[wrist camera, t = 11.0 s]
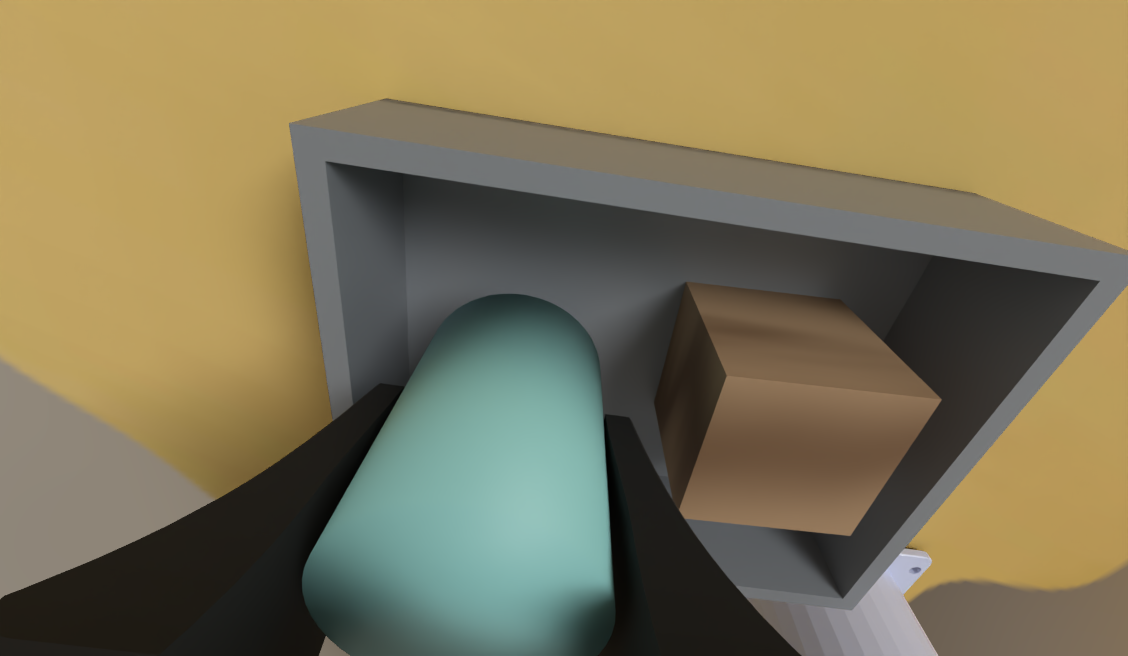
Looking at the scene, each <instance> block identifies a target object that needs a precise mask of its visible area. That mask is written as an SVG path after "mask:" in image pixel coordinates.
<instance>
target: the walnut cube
mask: <svg viewBox="0 0 1128 656" xmlns="http://www.w3.org/2000/svg"><path fill="white" fill-rule="evenodd" d="M941 400H942V399H941V398H940V397H939V396H938V395H937V394H936V393H935V392H934V391H933V390H932V389H931V388H930V387H929V386H928V385H927V384H926V383H925V382H924V381H923V380H922V379H921V378H919V377H918V376H917V375H916V374H915V373H914V372H913V371H912V370H911V369H910V368H909V367H908V366H907V365H906V364H905V363H904V362H903V361H902V360H901V359H900V358H899V357H898V356H897V355H896V354H895V353H894V352H893V351H892V350H891V349H890V348H889V347H888V346H887V345H886V344H885V343H884V342H883V341H882V340H881V339H880V338H879V337H878V336H877V335H876V334H875V333H874V332H873V331H872V330H871V329H870V328H869V327H868V326H867V325H866V324H865V323H864V322H863V321H862V320H861V319H860V318H859V317H858V316H857V315H856V314H855V313H854V312H853V311H852V310H851V309H850V308H849V307H848V306H846V305H845V304H844V303H843V302H842V301H841V300H840V299H833V298H824V297H815V296H807V295H798V294H789V293H781V292H772V291H763V290H755V289H746V288H737V287H729V286H720V285H712V284H703V283H694V282H686V284H685V288H684V292H683V296H682V299H681V303H680V307H679V311H678V314H677V318H676V322H675V326H674V329H673V333H672V337H671V341H670V344H669V348H668V352H667V356H666V359H665V363H664V367H663V370H662V374H661V378H660V382H659V385H658V389H657V393H656V397H655V400H654V405H655V411H656V416H657V421H658V426H659V431H660V437H661V442H662V447H663V452H664V457H665V462H666V468H667V473H668V478H669V483H670V488H671V493H672V499H673V501H674V503H675V504H676V506H677V507H678V509H679V511H680V512H681V514H682V515H683V517H684V518H685V519H693V520H703V521H713V522H722V523H732V524H741V525H751V526H760V527H770V528H779V529H789V530H799V531H808V532H818V533H827V534H837V535H846V536H851V534H852V533H853V531H854V530H855V528H856V527H857V525H858V524H859V522H860V521H861V519H862V518H863V516H864V515H865V513H866V512H867V510H868V509H869V507H870V506H871V504H872V503H873V501H874V500H875V498H876V497H877V495H878V494H879V493H880V491H881V490H882V488H883V487H884V485H885V484H886V482H887V481H888V479H889V478H890V476H891V475H892V473H893V472H894V470H895V469H896V467H897V466H898V464H899V463H900V461H901V460H902V458H903V457H904V455H905V454H906V452H907V451H908V449H909V448H910V446H911V445H912V443H913V442H914V441H915V439H916V438H917V436H918V435H919V433H920V432H921V430H922V429H923V427H924V426H925V424H926V423H927V421H928V420H929V418H930V417H931V415H932V414H933V412H934V411H935V409H936V408H937V406H938V405H939V403H940V402H941Z"/></svg>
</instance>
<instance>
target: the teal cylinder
mask: <svg viewBox="0 0 1128 656" xmlns="http://www.w3.org/2000/svg"><path fill="white" fill-rule="evenodd" d="M302 592H303V596H304V600H305V604H306V606H307V608H308V610H309V613H310V615H311V617H312V618H313V620H314V621H315V622H316V624H317V625H318V627H319V628H320V629H321V630H322V631H323V633H324V634H325V635H326V636H327V637H328V638H329V639H330V640H331V641H332V642H334V643H335V644H336V645H337V646H338V647H339V648H341V649H342V650H343V651H345V652H346V653H348V654H349V655H350V656H598V655H599V653H600V652H601V651H602V650H603V648H604V647H605V646H606V644H607V642H608V641H609V639H610V637H611V635H612V632H613V628H614V625H615V613H616V608H615V593H614V577H613V561H612V545H611V529H610V513H609V498H608V482H607V466H606V450H605V434H604V418H603V402H602V387H601V371H600V362H599V356H598V353H597V349H596V347H595V345H594V343H593V340H592V338H591V337H590V335H589V334H588V332H587V331H586V329H585V328H584V327H583V326H582V325H581V324H580V323H579V321H577V320H576V319H575V318H574V317H573V316H572V315H571V314H569V313H568V312H566V311H565V310H563V309H562V308H560V307H558V306H556V305H555V304H553V303H551V302H548V301H545V300H543V299H540V298H537V297H533V296H528V295H522V294H496V295H489V296H485V297H481V298H478V299H475V300H473V301H470V302H468V303H466V304H464V305H463V306H461V307H459V308H458V309H456V310H455V311H454V312H453V313H451V314H450V315H449V316H448V317H447V318H446V319H445V320H444V321H443V323H442V324H441V326H440V327H439V328H438V330H437V332H436V333H435V335H434V337H433V339H432V340H431V342H430V344H429V346H428V347H427V349H426V351H425V353H424V354H423V356H422V358H421V360H420V362H419V363H418V365H417V367H416V369H415V370H414V372H413V374H412V376H411V377H410V379H409V381H408V383H407V384H406V386H405V388H404V390H403V391H402V393H401V395H400V397H399V399H398V400H397V402H396V404H395V406H394V407H393V409H392V411H391V413H390V414H389V416H388V418H387V420H386V421H385V423H384V425H383V427H382V428H381V430H380V432H379V434H378V436H377V437H376V439H375V441H374V443H373V444H372V446H371V448H370V450H369V451H368V453H367V455H366V457H365V458H364V460H363V462H362V464H361V465H360V467H359V469H358V471H357V473H356V474H355V476H354V478H353V480H352V481H351V483H350V485H349V487H348V488H347V490H346V492H345V494H344V495H343V497H342V499H341V501H340V503H339V504H338V506H337V508H336V510H335V511H334V513H333V515H332V517H331V518H330V520H329V522H328V524H327V525H326V527H325V529H324V531H323V532H322V534H321V536H320V538H319V540H318V541H317V543H316V545H315V547H314V548H313V550H312V552H311V554H310V555H309V558H308V560H307V562H306V564H305V567H304V571H303V576H302Z"/></svg>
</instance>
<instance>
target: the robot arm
mask: <svg viewBox="0 0 1128 656" xmlns="http://www.w3.org/2000/svg"><path fill="white" fill-rule="evenodd" d="M404 388H405V386H398V385H390V384H383V383H380V384H378V385H377V386H375V387H374V388H373V389H372V390H371V391H369V392H368V393H367V394H366V395H364V396H363V397H362V398H361V399H360V400H358V401H357V402H356V403H355V404H354V405H352V406H351V407H350V408H349V409H347V410H346V411H345V412H344V413H342V414H341V415H340V416H339V417H338V418H336V419H335V420H334V421H332V422H331V423H330V424H329V425H327V426H326V427H325V428H323V429H322V430H321V431H320V432H318V433H317V434H316V435H314V436H313V437H312V438H310V439H309V440H308V441H306V442H305V443H304V444H302V445H301V446H299V447H298V448H297V449H295V450H294V451H292V452H291V453H289V454H288V455H287V456H285V457H284V458H282V459H281V460H280V461H278V462H277V463H275V464H274V465H272V466H271V467H269V468H268V469H266V470H265V471H263V472H262V473H260V474H259V475H257V476H255V477H254V478H252V479H251V480H249V481H247V482H246V483H244V484H243V485H241V486H239V487H238V488H236V489H234V490H233V491H231V492H229V493H227V494H226V495H224V496H222V497H221V498H219V499H217V500H215V501H213V502H211V503H209V504H207V505H206V506H204V507H202V508H200V509H198V510H196V511H194V512H192V513H191V514H189V515H187V516H185V517H183V518H181V519H179V520H177V521H176V522H174V523H172V524H170V525H168V526H166V527H164V528H162V529H160V530H158V531H155V532H153V533H151V534H150V535H147V536H145V537H143V538H141V539H139V540H137V541H135V542H132V543H130V544H128V545H126V546H124V547H121V548H119V549H117V550H115V551H113V552H110V553H108V554H106V555H104V556H102V557H99V558H97V559H94V560H92V561H90V562H87V563H85V564H83V565H80V566H78V567H75V568H73V569H71V570H68V571H65V572H63V573H61V574H58V575H56V576H53V577H51V578H49V579H46V580H43V581H41V582H38V583H36V584H33V585H31V586H29V587H26V588H24V589H21V590H19V591H16V592H13V593H11V594H8V595H5V596H4V597H2V598H1V599H0V656H319V653H320V650H321V648H322V645H323V642H324V639H325V636H326V635H325V634H324V633H323V631H322V630H321V629H320V628H319V627H318V625H317V624H316V622H315V621H314V620H313V618H312V617H311V615H310V613H309V610H308V608H307V606H306V604H305V600H304V596H303V592H302V576H303V571H304V567H305V564H306V562H307V560H308V558H309V555H310V554H311V552H312V550H313V548H314V547H315V545H316V543H317V541H318V540H319V538H320V536H321V534H322V532H323V531H324V529H325V527H326V525H327V524H328V522H329V520H330V518H331V517H332V515H333V513H334V511H335V510H336V508H337V506H338V504H339V503H340V501H341V499H342V497H343V495H344V494H345V492H346V490H347V488H348V487H349V485H350V483H351V481H352V480H353V478H354V476H355V474H356V473H357V471H358V469H359V467H360V465H361V464H362V462H363V460H364V458H365V457H366V455H367V453H368V451H369V450H370V448H371V446H372V444H373V443H374V441H375V439H376V437H377V436H378V434H379V432H380V430H381V428H382V427H383V425H384V423H385V421H386V420H387V418H388V416H389V414H390V413H391V411H392V409H393V407H394V406H395V404H396V402H397V400H398V399H399V397H400V395H401V393H402V391H403V390H404ZM604 434H605V450H606V466H607V482H608V498H609V513H610V529H611V545H612V561H613V577H614V593H615V608H616V613H615V625H614V628H613V632H612V635H611V637H610V639H609V641H608V642H607V644H606V646H605V647H604V648H603V650H602V651H601V652H600V653H599V655H598V656H938V654H937V653H936V651H935V649H934V648H933V646H932V644H931V642H930V641H929V639H928V637H927V636H926V634H925V632H924V630H923V629H922V627H921V625H920V623H919V622H918V620H917V618H916V617H915V615H914V613H913V611H912V610H911V608H910V606H909V604H908V603H907V601H906V599H905V598H904V596H903V594H904V593H905V592H906V591H907V590H908V589H909V588H910V587H911V586H912V584H913V583H914V582H915V581H916V580H917V579H918V578H919V577H920V576H921V575H922V574H923V572H924V571H925V570H926V569H927V568H928V567H929V566H930V565H931V563H932V560H931V558H930V557H929V555H928V554H927V553H926V552H924V551H921V550H913V549H905V548H904V550H903V551H902V552H901V553H900V554H899V556H898V557H897V558H896V559H895V560H894V561H893V563H892V564H891V565H890V566H889V567H888V569H887V570H886V571H885V572H884V573H883V574H882V576H881V577H880V578H879V579H878V580H877V582H876V583H875V584H874V585H873V586H872V587H871V589H870V590H869V591H868V592H867V593H866V595H865V596H864V597H863V598H862V599H861V600H860V602H859V603H858V604H857V605H856V606H855V608H854V609H853V610H844V609H836V608H827V607H819V606H811V605H803V604H795V603H787V602H778V601H770V600H762V599H754V598H746V597H745V596H744V595H743V594H742V593H741V592H740V590H739V589H738V588H737V587H736V586H735V585H734V584H733V582H732V581H731V580H730V579H729V578H728V577H727V575H726V574H725V573H724V572H723V570H722V569H721V568H720V567H719V565H718V564H717V563H716V561H715V560H714V559H713V558H712V556H711V555H710V554H709V552H708V551H707V550H706V548H705V547H704V546H703V544H702V543H701V542H700V540H699V539H698V537H697V536H696V535H695V533H694V532H693V530H692V529H691V527H690V526H689V524H688V523H687V521H686V520H685V518H684V517H683V515H682V514H681V512H680V511H679V509H678V507H677V506H676V504H675V503H674V501H673V499H672V498H671V496H670V494H669V493H668V491H667V489H666V488H665V486H664V484H663V482H662V480H661V479H660V477H659V475H658V473H657V472H656V470H655V468H654V466H653V464H652V462H651V460H650V458H649V456H648V454H647V452H646V450H645V448H644V446H643V444H642V442H641V440H640V438H639V436H638V434H637V431H636V429H635V427H634V425H633V422H632V421H631V419H630V418H629V417H624V416H617V415H609V414H605V417H604Z"/></svg>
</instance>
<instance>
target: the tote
mask: <svg viewBox="0 0 1128 656" xmlns="http://www.w3.org/2000/svg"><path fill="white" fill-rule="evenodd" d="M289 127H290V133H291V140H292V147H293V154H294V161H295V167H296V174H297V181H298V188H299V195H300V201H301V208H302V215H303V222H304V228H305V235H306V242H307V249H308V256H309V262H310V269H311V276H312V283H313V290H314V296H315V303H316V310H317V317H318V324H319V330H320V337H321V344H322V351H323V357H324V364H325V371H326V378H327V385H328V391H329V398H330V405H331V412H332V419H333V421H334V420H335V419H336V418H338V417H339V416H340V415H341V414H342V413H344V412H345V411H346V410H347V409H349V408H350V407H351V406H352V405H354V404H355V403H356V402H357V401H358V400H360V399H361V398H362V397H363V396H364V395H366V394H367V393H368V392H369V391H371V390H372V389H373V388H374V387H375V386H377V385H378V384H380V383H383V384H390V385H398V386H406V384H407V383H408V381H409V379H410V377H411V376H412V374H413V372H414V370H415V369H416V367H417V365H418V363H419V362H420V360H421V358H422V356H423V354H424V353H425V351H426V349H427V347H428V346H429V344H430V342H431V340H432V339H433V337H434V335H435V333H436V332H437V330H438V328H439V327H440V326H441V324H442V323H443V321H444V320H445V319H446V318H447V317H448V316H449V315H450V314H451V313H453V312H454V311H455V310H456V309H458V308H459V307H461V306H463V305H464V304H466V303H468V302H470V301H473V300H475V299H478V298H481V297H485V296H489V295H496V294H522V295H528V296H533V297H537V298H540V299H543V300H545V301H548V302H551V303H553V304H555V305H556V306H558V307H560V308H562V309H563V310H565V311H566V312H568V313H569V314H571V315H572V316H573V317H574V318H575V319H576V320H577V321H579V323H580V324H581V325H582V326H583V327H584V328H585V329H586V331H587V332H588V334H589V335H590V337H591V338H592V340H593V343H594V345H595V347H596V349H597V353H598V356H599V362H600V371H601V387H602V402H603V418H604V417H605V414H609V415H617V416H624V417H629V418H630V419H631V421H632V422H633V425H634V427H635V429H636V431H637V434H638V436H639V438H640V440H641V442H642V444H643V446H644V448H645V450H646V452H647V454H648V456H649V458H650V460H651V462H652V464H653V466H654V468H655V470H656V472H657V473H658V475H659V477H660V479H661V480H662V482H663V484H664V486H665V488H666V489H667V491H668V493H669V494H670V496H671V498H672V493H671V488H670V483H669V478H668V473H667V468H666V462H665V457H664V452H663V447H662V442H661V437H660V431H659V426H658V421H657V416H656V411H655V405H654V400H655V397H656V393H657V389H658V385H659V382H660V378H661V374H662V370H663V367H664V363H665V359H666V356H667V352H668V348H669V344H670V341H671V337H672V333H673V329H674V326H675V322H676V318H677V314H678V311H679V307H680V303H681V299H682V296H683V292H684V288H685V284H686V282H694V283H703V284H712V285H720V286H729V287H737V288H746V289H755V290H763V291H772V292H781V293H789V294H798V295H807V296H815V297H824V298H833V299H840V300H841V301H842V302H843V303H844V304H845V305H846V306H848V307H849V308H850V309H851V310H852V311H853V312H854V313H855V314H856V315H857V316H858V317H859V318H860V319H861V320H862V321H863V322H864V323H865V324H866V325H867V326H868V327H869V328H870V329H871V330H872V331H873V332H874V333H875V334H876V335H877V336H878V337H879V338H880V339H881V340H882V341H883V342H884V343H885V344H886V345H887V346H888V347H889V348H890V349H891V350H892V351H893V352H894V353H895V354H896V355H897V356H898V357H899V358H900V359H901V360H902V361H903V362H904V363H905V364H906V365H907V366H908V367H909V368H910V369H911V370H912V371H913V372H914V373H915V374H916V375H917V376H918V377H919V378H921V379H922V380H923V381H924V382H925V383H926V384H927V385H928V386H929V387H930V388H931V389H932V390H933V391H934V392H935V393H936V394H937V395H938V396H939V397H940V398H941V399H942V400H941V402H940V403H939V405H938V406H937V408H936V409H935V411H934V412H933V414H932V415H931V417H930V418H929V420H928V421H927V423H926V424H925V426H924V427H923V429H922V430H921V432H920V433H919V435H918V436H917V438H916V439H915V441H914V442H913V443H912V445H911V446H910V448H909V449H908V451H907V452H906V454H905V455H904V457H903V458H902V460H901V461H900V463H899V464H898V466H897V467H896V469H895V470H894V472H893V473H892V475H891V476H890V478H889V479H888V481H887V482H886V484H885V485H884V487H883V488H882V490H881V491H880V493H879V494H878V495H877V497H876V498H875V500H874V501H873V503H872V504H871V506H870V507H869V509H868V510H867V512H866V513H865V515H864V516H863V518H862V519H861V521H860V522H859V524H858V525H857V527H856V528H855V530H854V531H853V533H852V534H851V536H846V535H837V534H827V533H818V532H808V531H799V530H789V529H779V528H770V527H760V526H751V525H741V524H732V523H722V522H713V521H703V520H693V519H685V520H686V521H687V523H688V524H689V526H690V527H691V529H692V530H693V532H694V533H695V535H696V536H697V537H698V539H699V540H700V542H701V543H702V544H703V546H704V547H705V548H706V550H707V551H708V552H709V554H710V555H711V556H712V558H713V559H714V560H715V561H716V563H717V564H718V565H719V567H720V568H721V569H722V570H723V572H724V573H725V574H726V575H727V577H728V578H729V579H730V580H731V581H732V582H733V584H734V585H735V586H736V587H737V588H738V589H739V590H740V592H741V593H742V594H743V595H744V596H745V597H746V598H754V599H762V600H770V601H778V602H787V603H795V604H803V605H811V606H819V607H827V608H836V609H844V610H853V609H854V608H855V606H856V605H857V604H858V603H859V602H860V600H861V599H862V598H863V597H864V596H865V595H866V593H867V592H868V591H869V590H870V589H871V587H872V586H873V585H874V584H875V583H876V582H877V580H878V579H879V578H880V577H881V576H882V574H883V573H884V572H885V571H886V570H887V569H888V567H889V566H890V565H891V564H892V563H893V561H894V560H895V559H896V558H897V557H898V556H899V554H900V553H901V552H902V551H903V550H904V548H905V547H906V546H907V545H908V544H909V543H910V541H911V540H912V539H913V538H914V537H915V535H916V534H917V533H918V532H919V531H920V530H921V528H922V527H923V526H924V525H925V524H926V522H927V521H928V520H929V519H930V518H931V517H932V515H933V514H934V513H935V512H936V511H937V509H938V508H939V507H940V506H941V505H942V504H943V502H944V501H945V500H946V499H947V498H948V496H949V495H950V494H951V493H952V492H953V491H954V489H955V488H956V487H957V486H958V485H959V484H960V482H961V481H962V480H963V479H964V478H965V476H966V475H967V474H968V473H969V472H970V471H971V469H972V468H973V467H974V466H975V465H976V463H977V462H978V461H979V460H980V459H981V458H982V456H983V455H984V454H985V453H986V452H987V450H988V449H989V448H990V447H991V446H992V445H993V443H994V442H995V441H996V440H997V439H998V437H999V436H1000V435H1001V434H1002V433H1003V432H1004V430H1005V429H1006V428H1007V427H1008V426H1009V424H1010V423H1011V422H1012V421H1013V420H1014V419H1015V417H1016V416H1017V415H1018V414H1019V413H1020V411H1021V410H1022V409H1023V408H1024V407H1025V406H1026V404H1027V403H1028V402H1029V401H1030V400H1031V398H1032V397H1033V396H1034V395H1035V394H1036V393H1037V391H1038V390H1039V389H1040V388H1041V387H1042V385H1043V384H1044V383H1045V382H1046V381H1047V380H1048V378H1049V377H1050V376H1051V375H1052V374H1053V372H1054V371H1055V370H1056V369H1057V368H1058V367H1059V365H1060V364H1061V363H1062V362H1063V361H1064V359H1065V358H1066V357H1067V356H1068V355H1069V354H1070V352H1071V351H1072V350H1073V349H1074V348H1075V346H1076V345H1077V344H1078V343H1079V342H1080V341H1081V339H1082V338H1083V337H1084V336H1085V335H1086V333H1087V332H1088V331H1089V330H1090V329H1091V328H1092V326H1093V325H1094V324H1095V323H1096V322H1097V320H1098V319H1099V318H1100V317H1101V316H1102V315H1103V313H1104V312H1105V311H1106V310H1107V309H1108V307H1109V306H1110V305H1111V304H1112V303H1113V302H1114V300H1115V299H1116V298H1117V297H1118V296H1119V295H1120V293H1121V292H1122V291H1123V290H1124V289H1125V287H1126V286H1127V285H1128V250H1125V249H1122V248H1120V247H1117V246H1114V245H1112V244H1109V243H1106V242H1104V241H1101V240H1098V239H1096V238H1093V237H1090V236H1088V235H1085V234H1082V233H1080V232H1077V231H1074V230H1072V229H1069V228H1066V227H1064V226H1061V225H1058V224H1055V223H1053V222H1050V221H1047V220H1045V219H1042V218H1039V217H1037V216H1034V215H1031V214H1029V213H1026V212H1023V211H1021V210H1018V209H1015V208H1013V207H1010V206H1007V205H1005V204H1002V203H999V202H997V201H994V200H991V199H989V198H986V197H983V196H980V195H978V194H975V193H970V192H964V191H958V190H952V189H945V188H939V187H933V186H927V185H921V184H914V183H908V182H902V181H896V180H889V179H883V178H877V177H871V176H865V175H858V174H852V173H846V172H840V171H833V170H827V169H821V168H815V167H809V166H802V165H796V164H790V163H784V162H778V161H771V160H765V159H759V158H753V157H746V156H740V155H734V154H728V153H722V152H715V151H709V150H703V149H697V148H690V147H684V146H678V145H672V144H666V143H659V142H653V141H647V140H641V139H635V138H628V137H622V136H616V135H610V134H603V133H597V132H591V131H585V130H579V129H572V128H566V127H560V126H554V125H547V124H541V123H535V122H529V121H523V120H516V119H510V118H504V117H498V116H491V115H485V114H479V113H473V112H467V111H460V110H454V109H448V108H442V107H436V106H429V105H423V104H417V103H411V102H404V101H398V100H392V99H382V100H378V101H374V102H370V103H367V104H363V105H359V106H355V107H351V108H347V109H343V110H339V111H335V112H331V113H327V114H323V115H319V116H315V117H311V118H307V119H303V120H299V121H295V122H292V123H289Z"/></svg>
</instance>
